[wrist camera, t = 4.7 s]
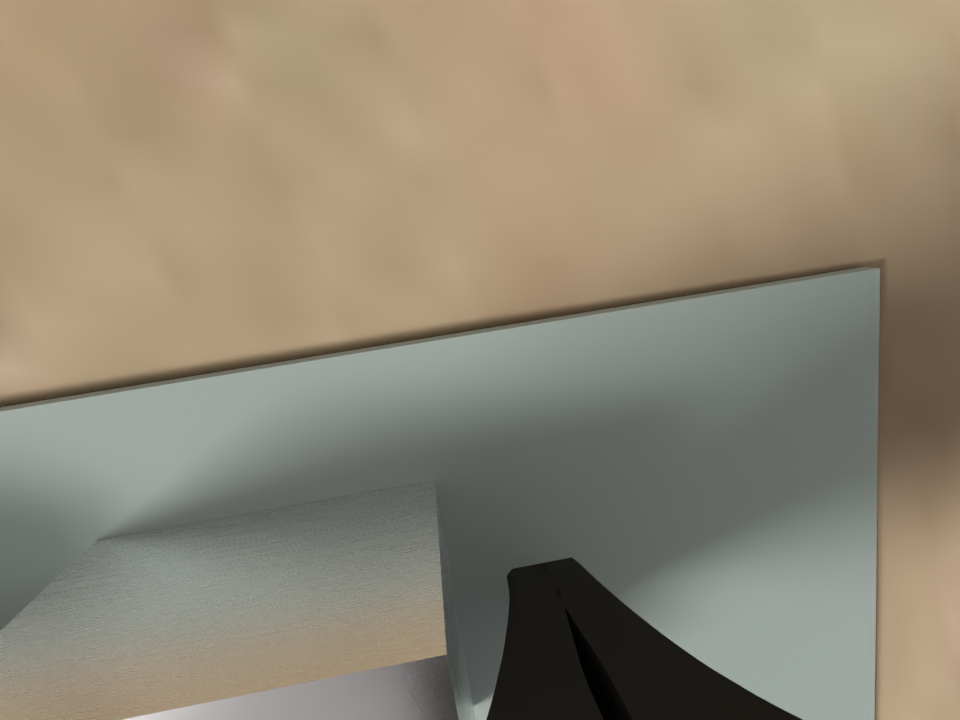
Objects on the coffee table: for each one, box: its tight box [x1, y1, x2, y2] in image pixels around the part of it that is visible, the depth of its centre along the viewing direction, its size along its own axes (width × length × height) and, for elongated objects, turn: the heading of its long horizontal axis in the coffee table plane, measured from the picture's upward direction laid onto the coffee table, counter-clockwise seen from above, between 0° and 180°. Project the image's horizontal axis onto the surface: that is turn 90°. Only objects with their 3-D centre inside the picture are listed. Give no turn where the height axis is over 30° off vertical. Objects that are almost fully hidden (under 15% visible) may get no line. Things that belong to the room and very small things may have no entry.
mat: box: [0, 267, 880, 720], centre depth 11 cm, size 22×12×1 cm, turn 98°
